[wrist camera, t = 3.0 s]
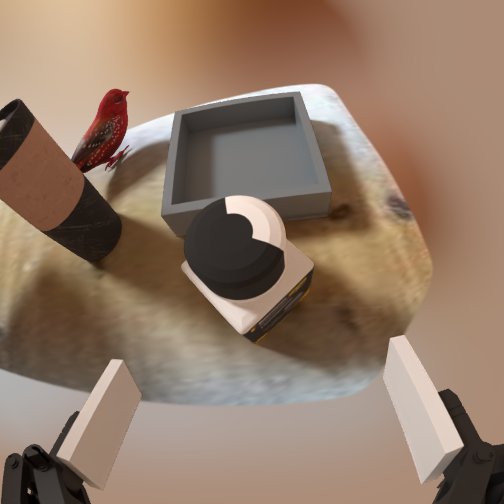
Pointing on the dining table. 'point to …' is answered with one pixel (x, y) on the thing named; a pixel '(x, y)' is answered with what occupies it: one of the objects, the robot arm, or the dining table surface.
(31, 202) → the travel mug
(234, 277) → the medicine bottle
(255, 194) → the open-top bin
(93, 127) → the decorative bird figurine
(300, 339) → the dining table surface
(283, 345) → the dining table surface
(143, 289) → the dining table surface
